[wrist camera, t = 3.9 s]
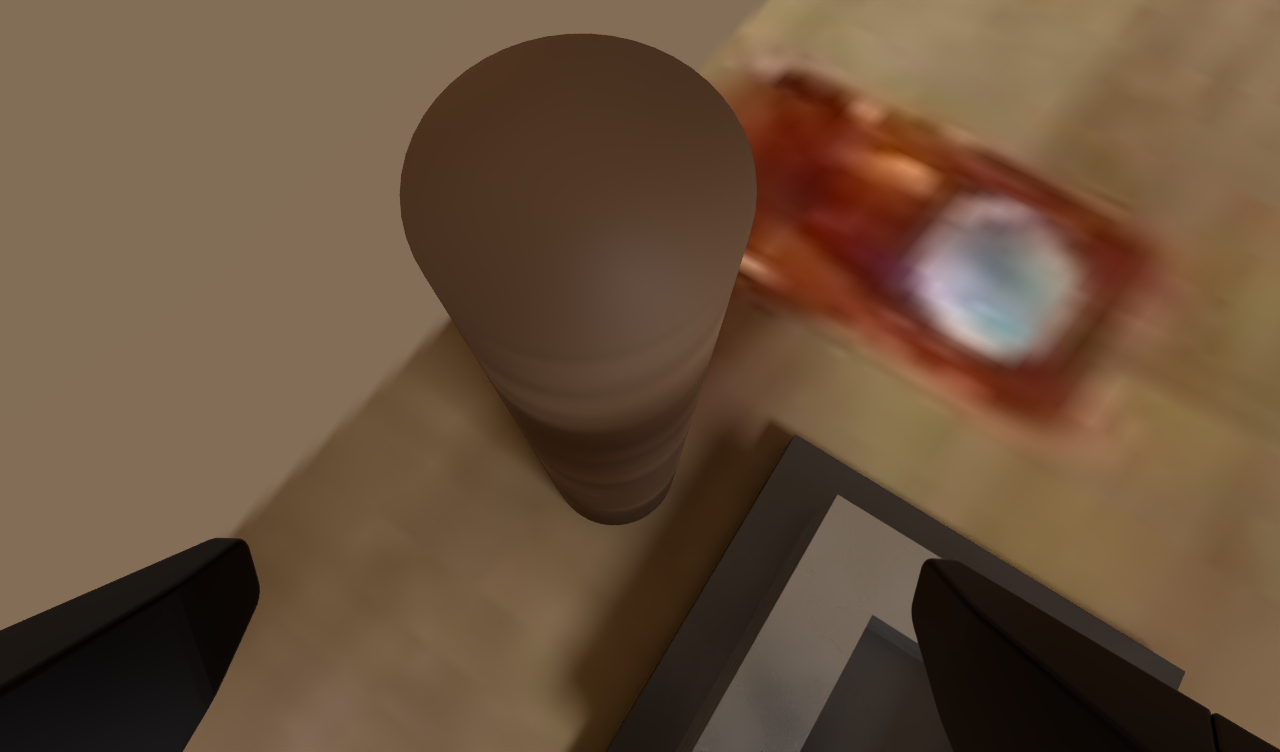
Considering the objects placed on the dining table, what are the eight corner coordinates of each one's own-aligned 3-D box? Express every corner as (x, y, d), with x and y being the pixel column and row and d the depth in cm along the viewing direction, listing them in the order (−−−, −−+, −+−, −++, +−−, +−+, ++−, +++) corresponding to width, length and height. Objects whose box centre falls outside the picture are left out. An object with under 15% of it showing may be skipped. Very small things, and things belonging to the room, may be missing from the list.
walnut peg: (696, 447, 23) (821, 136, 8) (632, 548, 22) (633, 422, 7) (597, 385, 24) (534, -20, 8) (530, 482, 23) (326, 230, 8)
